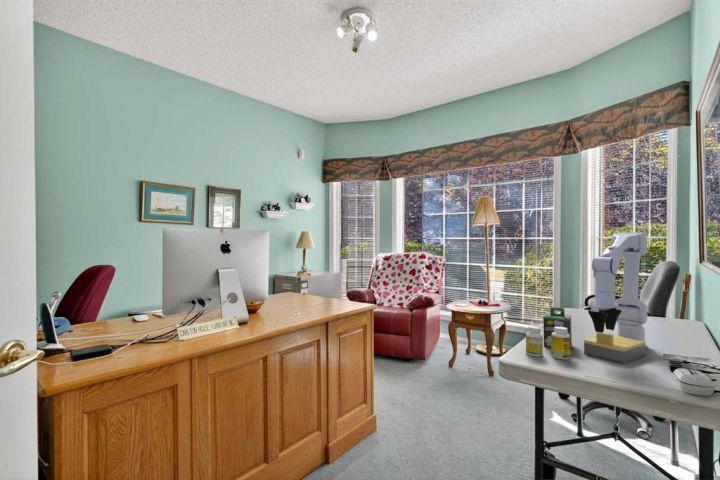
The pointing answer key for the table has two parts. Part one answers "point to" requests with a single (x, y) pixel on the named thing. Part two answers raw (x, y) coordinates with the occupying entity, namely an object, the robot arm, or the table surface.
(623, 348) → the lid end segment
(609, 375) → the table surface
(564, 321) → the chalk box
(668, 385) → the table surface
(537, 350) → the supplement bottle
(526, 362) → the table surface
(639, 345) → the parts tub
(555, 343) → the supplement bottle
